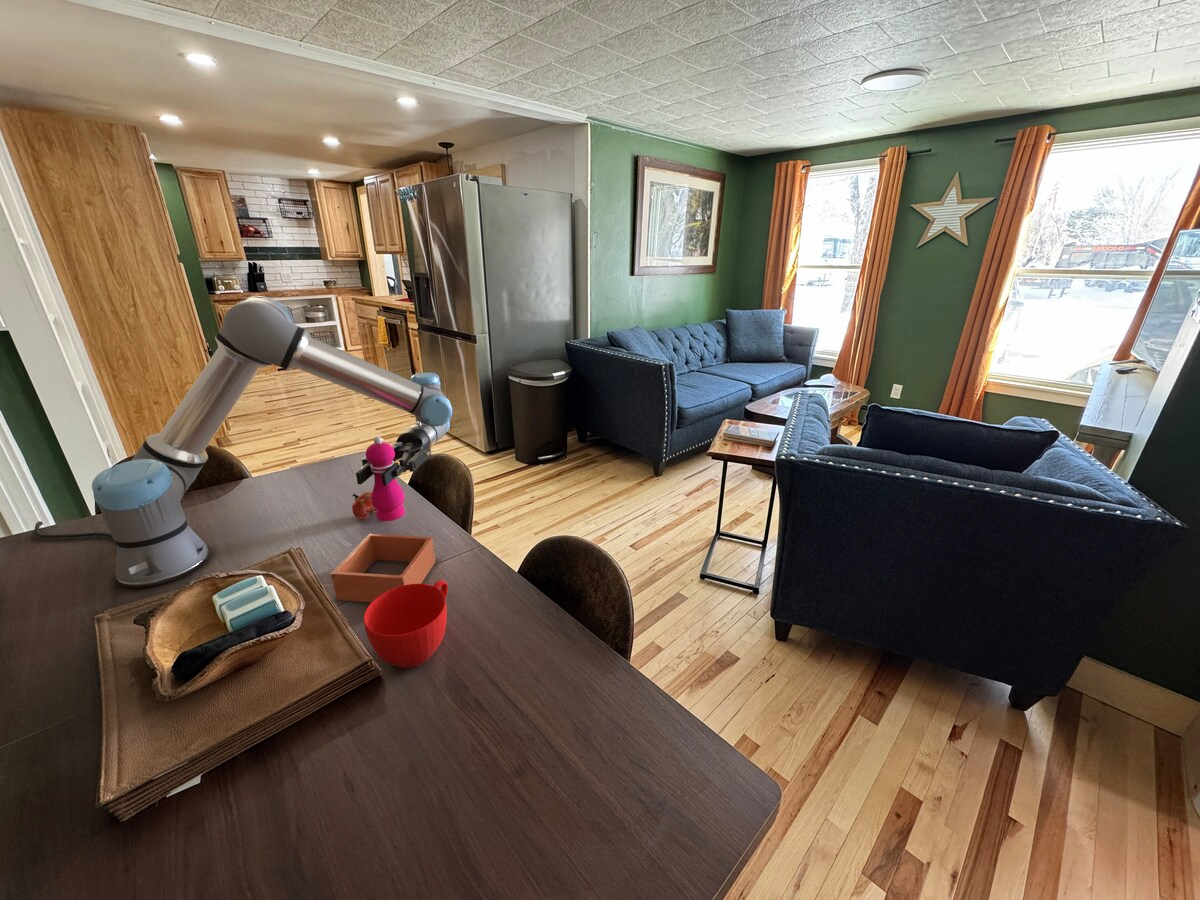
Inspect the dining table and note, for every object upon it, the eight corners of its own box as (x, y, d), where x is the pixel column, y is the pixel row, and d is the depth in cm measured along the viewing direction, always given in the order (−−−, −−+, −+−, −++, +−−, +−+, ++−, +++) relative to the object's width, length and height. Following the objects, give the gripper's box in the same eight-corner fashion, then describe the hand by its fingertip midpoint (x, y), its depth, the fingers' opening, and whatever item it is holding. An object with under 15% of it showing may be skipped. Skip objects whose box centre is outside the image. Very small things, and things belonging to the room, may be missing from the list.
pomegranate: (390, 518, 129) (364, 493, 130) (396, 505, 124) (370, 479, 125) (367, 534, 123) (340, 507, 124) (373, 520, 119) (345, 492, 119)
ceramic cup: (477, 622, 91) (473, 579, 87) (419, 693, 76) (411, 645, 72) (421, 606, 94) (415, 564, 91) (355, 670, 79) (344, 624, 76)
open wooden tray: (337, 600, 95) (330, 573, 93) (373, 557, 109) (369, 533, 106) (407, 604, 95) (402, 578, 92) (435, 561, 108) (432, 537, 106)
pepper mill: (395, 524, 109) (382, 444, 101) (367, 520, 110) (352, 441, 102) (412, 509, 115) (401, 432, 108) (386, 505, 117) (372, 430, 109)
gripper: (381, 426, 124) (327, 462, 102) (448, 429, 123) (408, 465, 101) (385, 452, 127) (334, 492, 105) (451, 455, 126) (413, 496, 104)
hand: (371, 479), depth 103 cm, fingers closed on pepper mill, 5 cm apart
